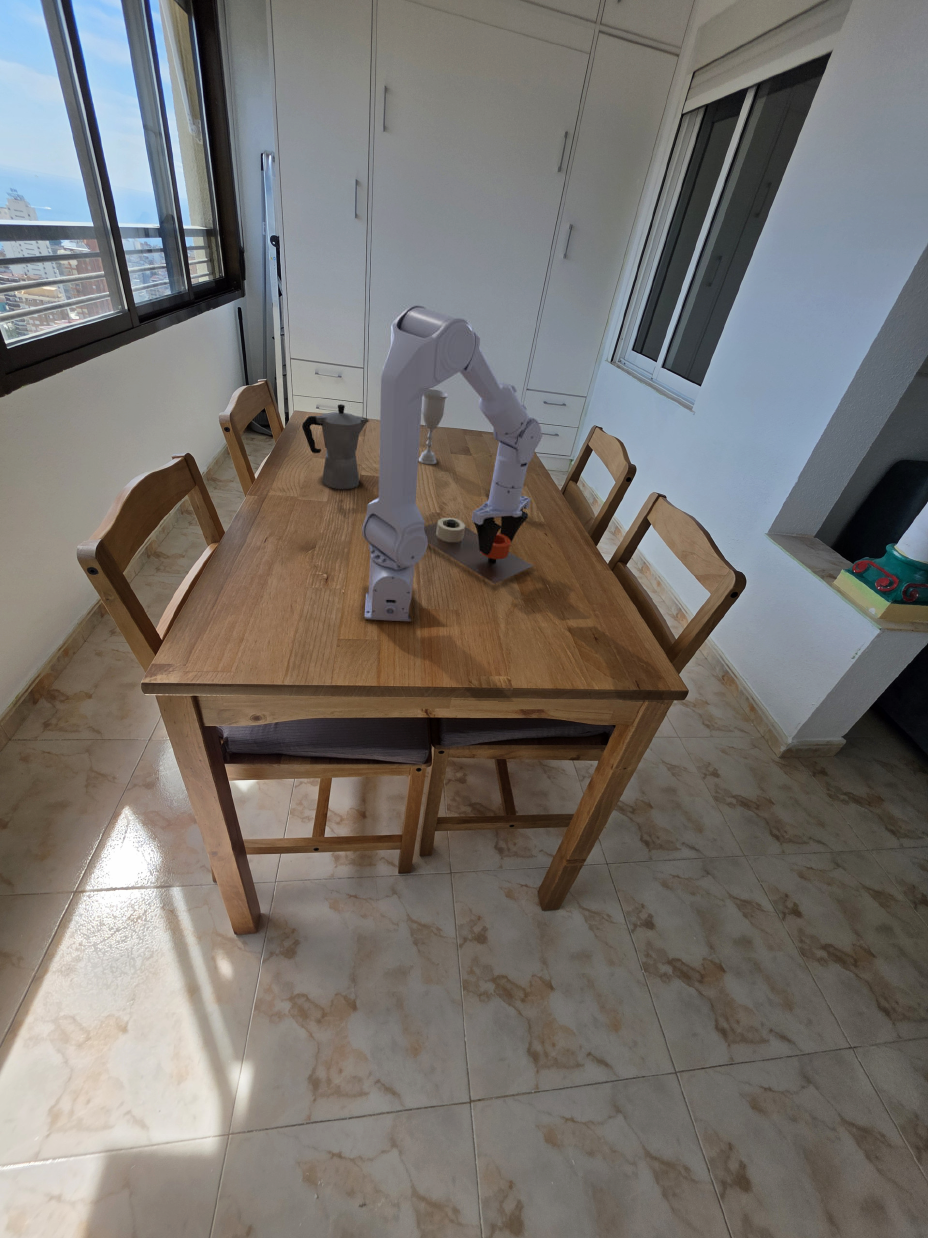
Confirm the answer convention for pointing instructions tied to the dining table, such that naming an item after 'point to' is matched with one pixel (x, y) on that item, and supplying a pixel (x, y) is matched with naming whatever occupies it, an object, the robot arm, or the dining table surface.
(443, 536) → the cream ring
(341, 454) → the coffeepot
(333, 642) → the dining table surface
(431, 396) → the chalice
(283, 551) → the dining table surface
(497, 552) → the red ring
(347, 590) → the dining table surface
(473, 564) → the ring board
